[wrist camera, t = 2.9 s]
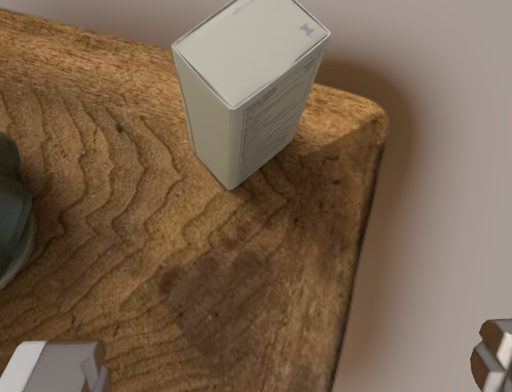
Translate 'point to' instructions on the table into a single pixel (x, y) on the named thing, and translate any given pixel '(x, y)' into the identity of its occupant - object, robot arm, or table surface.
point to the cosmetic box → (247, 82)
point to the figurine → (14, 214)
